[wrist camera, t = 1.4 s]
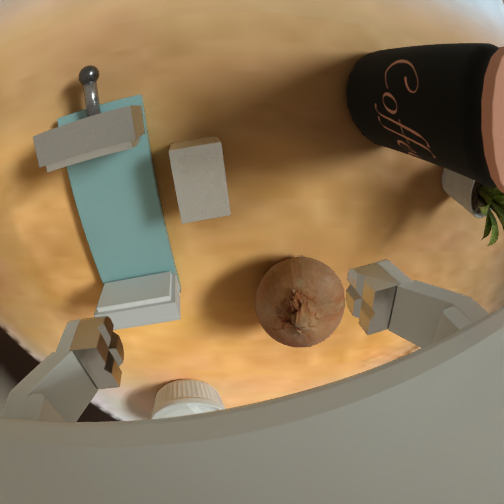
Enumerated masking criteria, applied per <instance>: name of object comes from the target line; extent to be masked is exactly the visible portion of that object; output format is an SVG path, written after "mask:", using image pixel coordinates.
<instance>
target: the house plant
mask: <svg viewBox="0 0 504 504" xmlns="http://www.w3.org/2000/svg"><path fill="white" fill-rule="evenodd" d="M442 187H443V189H444V191H445V192H446V193H447V194H448V195H449V196H451V197H452V198H453V199H454V200H456V201H457V202H458V203H459V204H461V205H462V206H463V207H464V208H465V209H467V210H468V211H469V212H470V213H471V214H473V215H474V216H475V217H477V218H483V217H484V216H486V215H487V218H486V225H485V231H484V236H483V238H482V239H484V238H485V237H487V236H488V235H489V233H490V231H491V227H492V235H491V239H490V243H489V245H492V244H494V243H495V242H496V241H497V239H498V225H497V222H496V219H495V217H494V215H493V213H492V212H491V210H493V211H494V212H495V213H496V214H497V216H498V218H499V220H500V222H501V224H502V226H503V229H504V193H503V192H501V191H499V189H498V188H497V187H495V188H491V187H488V186H485V185H483V184H481V183H479V182H477V181H475V180H472V179H470V178H468V177H465V176H463V175H461V174H458V173H456V172H454V171H451V170H449V169H446V168H444V169H443V173H442ZM482 239H481V240H482ZM489 245H487V246H489Z"/></svg>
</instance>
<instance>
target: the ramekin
mask: <svg viewBox="0 0 504 504" xmlns="http://www.w3.org/2000/svg"><path fill="white" fill-rule="evenodd" d="M223 409H226V408H225V407H224V405H223V402H222V400H221V398H220V395H219V393H218V392H217V390H216V389H215V388H214V387H213V386H211V385H209V384H208V383H205V382H203V381H199V380H194V379H181V380H176V381H173V382H170V383H168V384H166V385H165V386H163V387H162V388H161V389H160V390H159V391H158V393H157V395H156V398H155V402H154V408H153V411H152V413H151V419H158V418H168V417H176V416H184V415H192V414H198V413H205V412H211V411H217V410H223Z"/></svg>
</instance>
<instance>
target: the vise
mask: <svg viewBox="0 0 504 504" xmlns="http://www.w3.org/2000/svg"><path fill="white" fill-rule="evenodd" d="M130 105H141V109H142V116H143V122H144V128H145V134H144V135H142V136H141V142H140V143H139V144H138V145H136V146H135V147H134V148H132V149H128V150H124V151H120V152H116V153H112V154H108V155H104V156H100V157H97V158H93V159H89V160H86V161H83V162H79V163H76V164H72V165H69V166H66V167H67V171H68V175H69V179H70V183H71V187H72V191H73V195H74V198H75V202H76V205H77V209H78V212H79V216H80V219H81V222H82V225H83V229H84V232H85V235H86V238H87V241H88V244H89V247H90V250H91V253H92V255H93V258H94V261H95V264H96V266H97V269H98V272H99V274H100V277H101V280H102V282H103V285H104V287H103V290H102V293H101V295H100V298H99V301H98V304H97V307H96V311H95V314H94V317H101V316H108V317H110V319H111V321H112V323H113V325H114V327H113V330H116V329H123V328H130V327H136V326H143V325H149V324H156V323H162V322H168V321H174V320H180V293H181V285H180V281H179V278H178V274H177V270H176V266H175V262H174V258H173V254H172V250H171V246H170V242H169V237H168V233H167V229H166V224H165V220H164V215H163V211H162V206H161V202H160V197H159V192H158V187H157V182H156V177H155V172H154V166H153V161H152V155H151V150H150V144H149V138H148V132H147V126H146V119H145V113H144V106H143V98H142V95H136V96H132V97H128V98H124V99H120V100H116V101H112V102H109V103H105V104H102V105H100V111H101V113H103V112H107V111H111V110H114V109H118V108H122V107H126V106H130ZM83 118H87V112H86V109H85V110H82V111H79V112H76V113H73V114H70V115H67V116H64V117H61V118H59V119H57V121H58V127H59V126H62V125H65V124H68V123H71V122H74V121H77V120H80V119H83Z"/></svg>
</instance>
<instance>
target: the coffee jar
mask: <svg viewBox="0 0 504 504" xmlns="http://www.w3.org/2000/svg"><path fill="white" fill-rule="evenodd" d="M346 92H347V104H348V108H349V111H350V113H351V116H352V119H353V121H354V123H355V124H356V125H357V127H358V128H359V130H360V131H361V132H362V134H363V135H364V136H366V137H367V138H368V139H370V140H371V141H372V142H373V143H375V144H378V145H382V146H384V147H388V148H391V149H394V150H397V151H400V152H403V153H406V154H409V155H412V156H414V157H417V158H420V159H423V160H425V161H428V162H431V163H433V164H436V165H439V166H441V167H444V168H446V169H449V170H451V171H454V172H456V173H458V174H461V175H463V176H465V177H468V178H470V179H472V180H475V181H477V182H479V183H481V184H483V185H485V186H488V187H491V188H495V187H497V188H498V189H499V191H501V192H503V193H504V47H500V48H499V47H497V46H494V45H492V44H486V43H457V44H435V45H422V46H411V47H402V48H394V49H387V50H380V51H376V52H372V53H369V54H367V55H365V56H364V57H363V58H362V59H360V60H359V61H358V62H357V63H356V65H355V66H354V68H353V70H352V72H351V73H350V75H349V79H348V84H347V89H346Z"/></svg>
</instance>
